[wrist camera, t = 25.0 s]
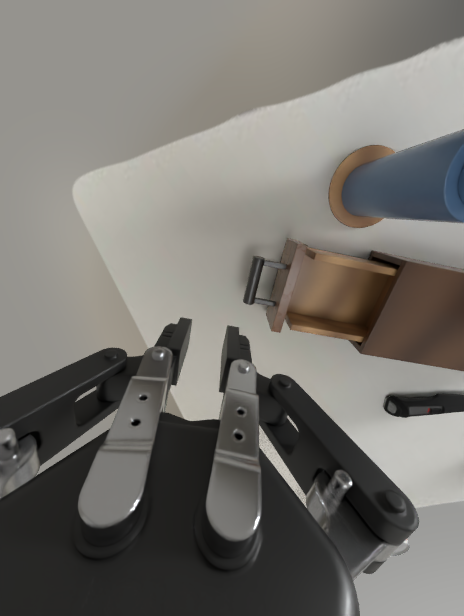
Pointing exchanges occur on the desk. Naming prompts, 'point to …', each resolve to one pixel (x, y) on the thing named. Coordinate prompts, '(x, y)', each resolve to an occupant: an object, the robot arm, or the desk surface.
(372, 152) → the cork coaster
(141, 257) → the desk surface
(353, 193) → the steel bottle
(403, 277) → the drawer unit
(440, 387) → the desk surface
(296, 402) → the robot arm
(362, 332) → the drawer
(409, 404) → the electric trimmer
